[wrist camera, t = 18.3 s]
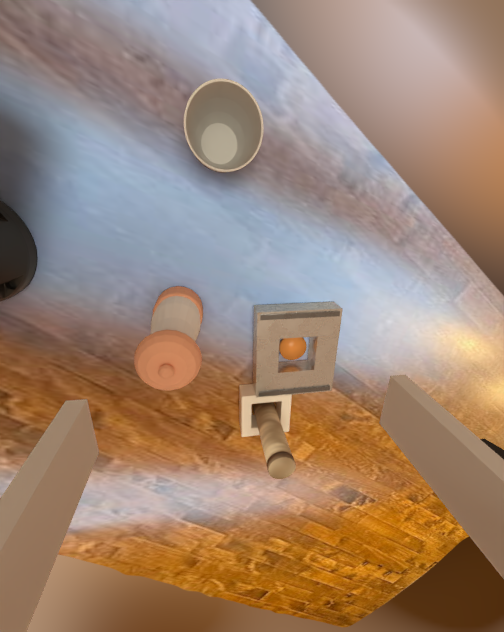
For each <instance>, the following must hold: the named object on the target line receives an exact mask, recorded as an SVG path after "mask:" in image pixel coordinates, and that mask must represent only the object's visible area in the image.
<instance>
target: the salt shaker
mask: <svg viewBox="0 0 504 632" xmlns="http://www.w3.org/2000/svg"><path fill="white" fill-rule="evenodd" d="M202 317H203V306H202V302H201V300H200V298H199V296H198V295H197V294H196V293H195V292H194V291H193V290H191V289H188V288H186V287H180V286H176V287H171V288H169V289H167V290H165V291H163V292H162V294H161V295H160V296H159V297H158V300H157V302H156V304H155V306H154V309H153V317H152V319H151V334H150V335H149V336H147V337H145V338H144V339H143V340H142V341H141V342H140V344H139V345H138V347H137V349H136V351H135V358H134V364H135V368H136V371H137V374H138V375H139V376H140V378H141V379H142V380H143V381H144V382H145V383H147V384H148V385H150V386H151V387H153V388H156V389H159V390H174V389H179V388H182V387H183V386H185V385H187V384H189V383H190V382H191V381H192V380H193V379H194V378H195V377H196V375H197V373H198V371H199V369H200V367H201V362H202V356H201V352H200V349H199V347H198V346H197V344H196V343H195V341H196V339H197V336H198V334H199V332H200V324H201V322H202Z"/></svg>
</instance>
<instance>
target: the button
mask: <svg viewBox="0 0 504 632" xmlns="http://www.w3.org/2000/svg"><path fill="white" fill-rule="evenodd" d="M279 351H280V353H281V355H282V356H283V357H284V358H285V359H288V360H295V359H298V358H300V357H301V356H302V355H303V354H304V352H305V351H306V342H305V340H304V339H303V338H302V337H299V338H283V339H282V340H281V341H280V343H279Z"/></svg>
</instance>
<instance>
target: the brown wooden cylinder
mask: <svg viewBox="0 0 504 632" xmlns="http://www.w3.org/2000/svg"><path fill="white" fill-rule="evenodd" d="M252 405H253V409H254V413H255V417H256V422H257V426H258V430H259V434H260V438H261V442H262V446H263V450H264V454H265V459H266V463H267V468H268V472H269V474H270V476H271V477H273V478H275V479H283V478H286V477H288V476H290V475H291V474H292V473H293V472H294V471H295V467H296V466H295V461H294V458H293V456H292V454H291V451H290V448H289V445H288V442H287V439H286V437H285V434H284V431H283V428H282V425H281V422H280V420H279V417H278V414H277V411H276V408H275V405H274V402H267V403H257V404H252Z"/></svg>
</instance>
